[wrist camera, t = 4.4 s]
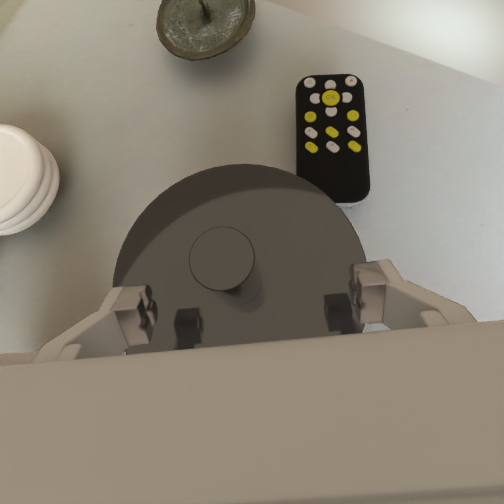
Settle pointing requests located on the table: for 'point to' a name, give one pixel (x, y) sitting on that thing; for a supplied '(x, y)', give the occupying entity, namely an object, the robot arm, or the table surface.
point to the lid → (203, 26)
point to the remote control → (333, 137)
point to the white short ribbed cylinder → (24, 180)
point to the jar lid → (242, 260)
